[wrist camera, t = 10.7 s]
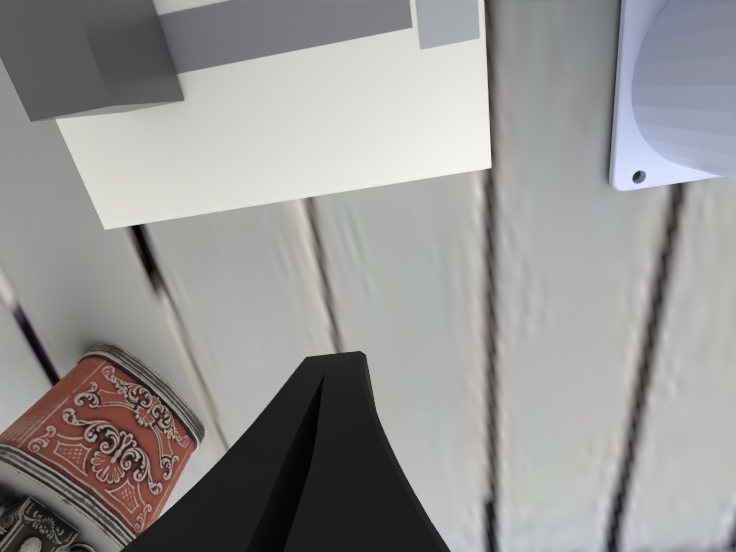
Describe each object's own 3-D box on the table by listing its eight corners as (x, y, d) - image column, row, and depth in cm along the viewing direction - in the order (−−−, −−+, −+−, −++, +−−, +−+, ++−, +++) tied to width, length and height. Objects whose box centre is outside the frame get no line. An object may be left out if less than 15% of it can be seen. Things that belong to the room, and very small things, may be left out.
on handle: (146, -18, 14) (47, -61, 10) (184, 100, 15) (112, 105, 11) (79, -3, 14) (-45, -39, 10) (123, 112, 15) (31, 121, 11)
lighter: (71, 360, 22) (-145, 549, 13) (114, 332, 21) (-85, 513, 12) (176, 454, 25) (57, 665, 16) (218, 432, 24) (118, 642, 15)
